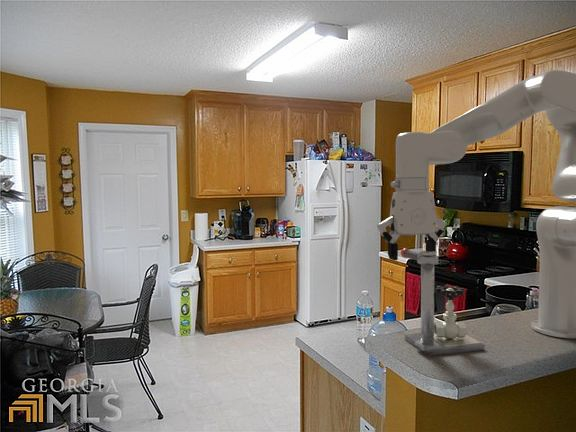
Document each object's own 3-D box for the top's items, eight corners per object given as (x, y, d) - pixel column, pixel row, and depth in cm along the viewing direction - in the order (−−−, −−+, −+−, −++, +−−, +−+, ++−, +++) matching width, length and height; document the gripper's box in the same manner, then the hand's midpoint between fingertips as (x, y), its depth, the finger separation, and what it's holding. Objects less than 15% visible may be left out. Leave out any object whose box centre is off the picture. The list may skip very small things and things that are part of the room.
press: (455, 334, 111) (456, 244, 110) (484, 349, 101) (486, 250, 99) (401, 339, 108) (401, 247, 106) (425, 356, 97) (425, 254, 96)
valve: (468, 343, 101) (469, 291, 100) (438, 343, 102) (439, 291, 101) (459, 333, 108) (460, 285, 107) (431, 333, 108) (432, 285, 108)
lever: (442, 266, 97) (442, 255, 97) (424, 267, 96) (424, 256, 96) (411, 256, 110) (411, 247, 110) (395, 257, 109) (395, 248, 109)
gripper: (385, 186, 98) (385, 263, 99) (454, 185, 102) (453, 259, 103) (371, 186, 105) (371, 258, 107) (436, 185, 109) (435, 254, 111)
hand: (411, 258), depth 105 cm, fingers open, 9 cm apart
